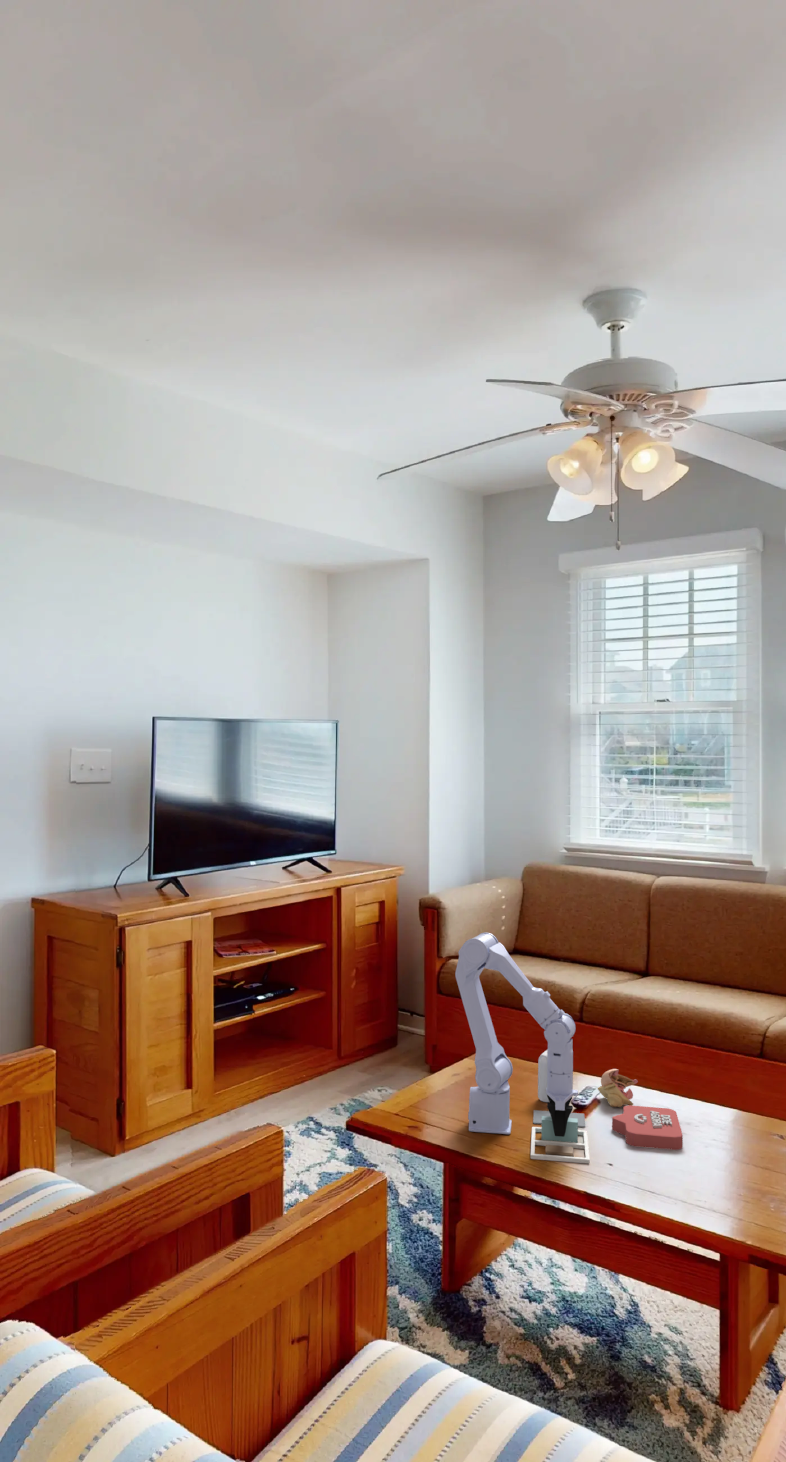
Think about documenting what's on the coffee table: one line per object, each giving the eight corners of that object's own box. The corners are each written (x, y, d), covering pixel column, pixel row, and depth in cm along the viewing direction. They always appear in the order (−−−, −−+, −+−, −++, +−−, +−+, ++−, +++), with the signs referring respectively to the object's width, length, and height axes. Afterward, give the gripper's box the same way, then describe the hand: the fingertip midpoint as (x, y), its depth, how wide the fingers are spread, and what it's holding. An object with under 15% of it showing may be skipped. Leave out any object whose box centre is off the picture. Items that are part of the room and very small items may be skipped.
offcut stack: (545, 1158, 206) (545, 1151, 207) (545, 1151, 210) (545, 1144, 210) (573, 1160, 205) (574, 1153, 205) (573, 1153, 209) (573, 1146, 209)
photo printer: (559, 1090, 248) (559, 1042, 248) (573, 1094, 244) (573, 1045, 245) (535, 1099, 240) (535, 1050, 241) (549, 1104, 237) (549, 1054, 238)
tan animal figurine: (633, 1116, 232) (605, 1087, 232) (607, 1123, 239) (580, 1095, 240) (647, 1087, 238) (619, 1059, 238) (622, 1095, 245) (595, 1068, 246)
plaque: (611, 1101, 231) (675, 1106, 228) (610, 1117, 231) (675, 1122, 228) (613, 1129, 213) (683, 1135, 210) (613, 1146, 213) (683, 1153, 210)
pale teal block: (541, 1140, 215) (541, 1119, 215) (541, 1136, 217) (541, 1116, 218) (577, 1143, 214) (577, 1122, 214) (577, 1139, 216) (577, 1118, 216)
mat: (533, 1123, 224) (533, 1122, 224) (533, 1111, 232) (533, 1110, 232) (585, 1127, 223) (585, 1126, 223) (584, 1115, 230) (584, 1113, 230)
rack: (530, 1158, 205) (530, 1155, 205) (532, 1130, 221) (532, 1126, 221) (589, 1163, 203) (589, 1159, 203) (586, 1134, 219) (586, 1130, 219)
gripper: (578, 1082, 208) (578, 1145, 208) (577, 1061, 223) (576, 1120, 222) (546, 1080, 209) (545, 1143, 209) (546, 1059, 224) (545, 1118, 223)
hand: (559, 1131), depth 216 cm, fingers open, 4 cm apart
